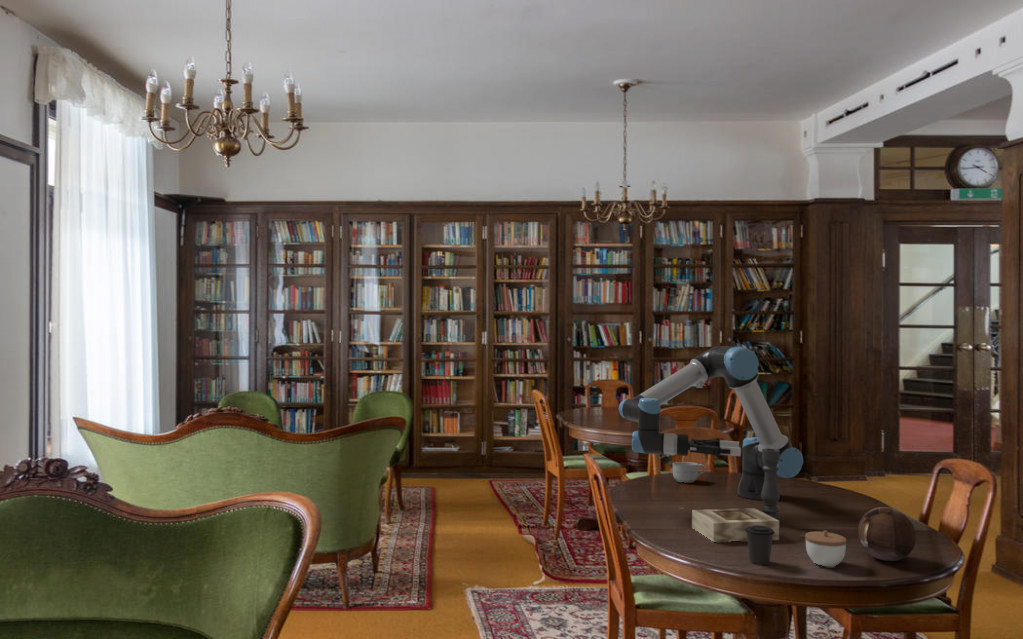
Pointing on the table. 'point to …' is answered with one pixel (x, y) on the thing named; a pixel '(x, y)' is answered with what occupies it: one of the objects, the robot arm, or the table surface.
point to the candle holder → (770, 483)
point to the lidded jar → (825, 547)
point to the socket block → (731, 523)
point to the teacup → (686, 471)
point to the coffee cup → (759, 543)
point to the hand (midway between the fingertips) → (740, 448)
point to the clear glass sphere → (886, 534)
